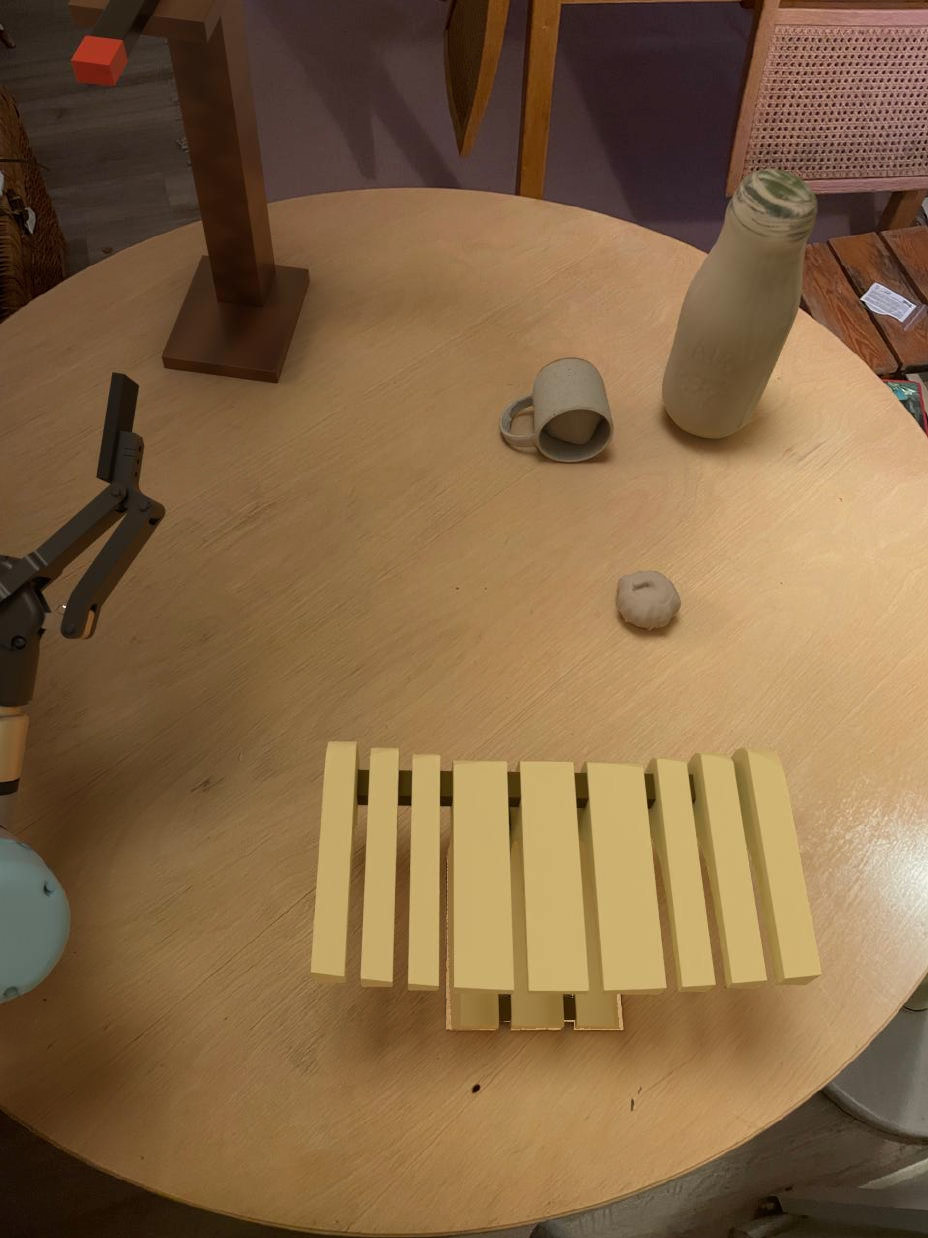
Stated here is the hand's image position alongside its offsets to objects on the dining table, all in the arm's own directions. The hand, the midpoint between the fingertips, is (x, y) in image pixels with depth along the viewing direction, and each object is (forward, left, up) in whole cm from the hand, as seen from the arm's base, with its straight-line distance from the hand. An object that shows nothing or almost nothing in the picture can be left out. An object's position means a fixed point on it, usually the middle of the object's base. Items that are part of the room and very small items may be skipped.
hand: (19, 363), depth 65 cm
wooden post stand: (0, +39, -32) cm, 50 cm away
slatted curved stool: (+38, -21, -32) cm, 53 cm away
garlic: (+45, +9, -32) cm, 56 cm away
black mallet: (0, +31, +6) cm, 32 cm away
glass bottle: (+50, +34, -32) cm, 68 cm away
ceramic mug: (+35, +29, -32) cm, 55 cm away
